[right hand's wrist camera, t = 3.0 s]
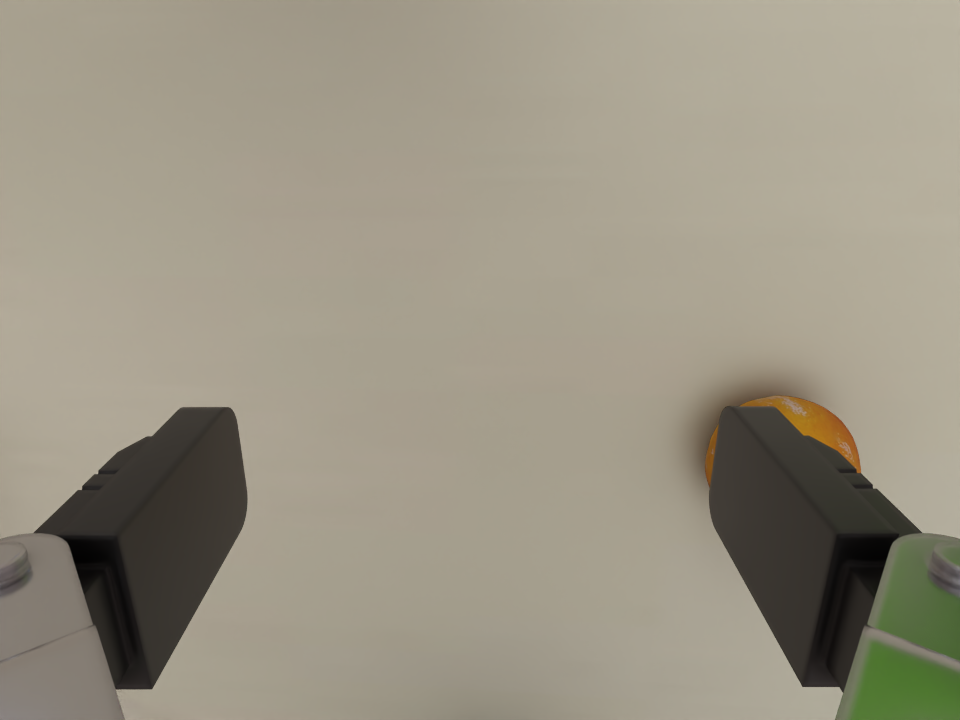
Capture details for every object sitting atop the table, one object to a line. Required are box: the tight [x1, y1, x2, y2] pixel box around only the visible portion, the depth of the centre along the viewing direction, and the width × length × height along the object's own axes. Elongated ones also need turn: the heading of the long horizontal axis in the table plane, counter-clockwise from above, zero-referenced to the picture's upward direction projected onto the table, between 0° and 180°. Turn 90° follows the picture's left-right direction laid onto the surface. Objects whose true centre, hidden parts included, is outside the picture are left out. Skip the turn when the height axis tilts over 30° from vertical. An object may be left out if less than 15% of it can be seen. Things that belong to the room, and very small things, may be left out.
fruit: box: [705, 395, 861, 487], centre depth 41 cm, size 8×8×8 cm
